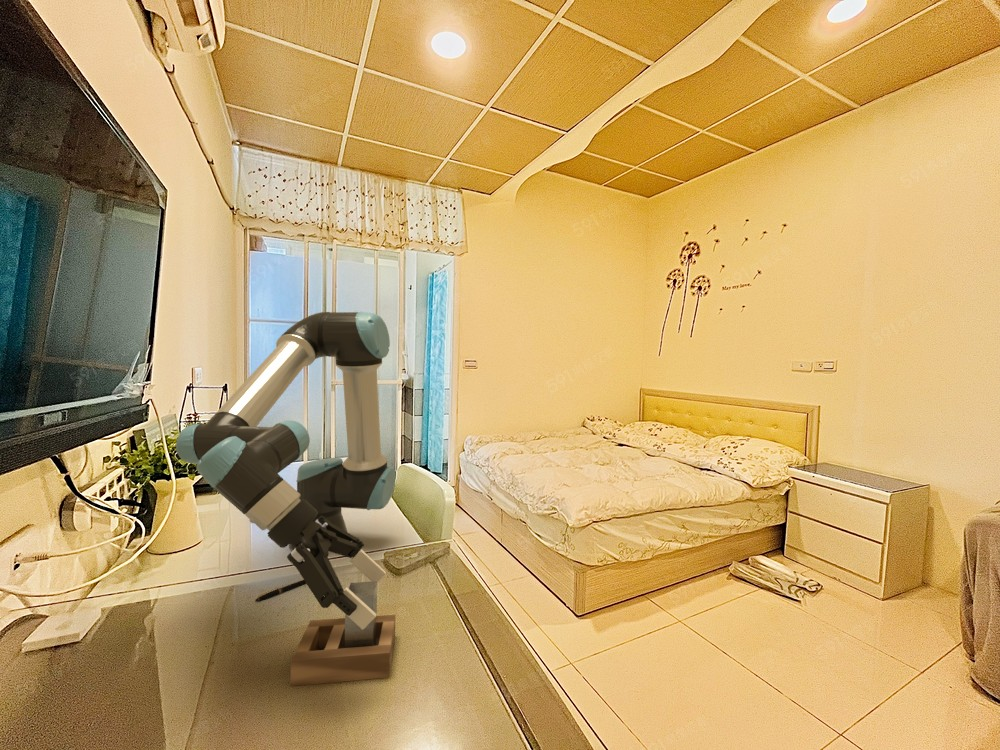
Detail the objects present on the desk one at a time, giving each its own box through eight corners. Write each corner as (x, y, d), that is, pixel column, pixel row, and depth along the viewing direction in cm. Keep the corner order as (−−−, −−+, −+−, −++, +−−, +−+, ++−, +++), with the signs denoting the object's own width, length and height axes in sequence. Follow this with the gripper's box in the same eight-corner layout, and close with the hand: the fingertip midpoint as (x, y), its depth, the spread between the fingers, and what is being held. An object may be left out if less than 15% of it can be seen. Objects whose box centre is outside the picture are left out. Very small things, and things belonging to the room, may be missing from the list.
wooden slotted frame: (310, 642, 76) (310, 620, 75) (395, 635, 78) (395, 614, 78) (290, 686, 65) (290, 660, 65) (389, 677, 68) (389, 652, 67)
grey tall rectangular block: (349, 650, 74) (350, 582, 74) (375, 647, 74) (377, 581, 74) (344, 668, 69) (345, 596, 69) (372, 665, 70) (373, 594, 70)
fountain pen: (319, 577, 99) (319, 571, 99) (321, 578, 98) (322, 572, 98) (253, 602, 88) (253, 595, 88) (255, 604, 87) (255, 597, 87)
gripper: (292, 506, 81) (370, 578, 84) (230, 566, 57) (344, 665, 59) (321, 478, 82) (397, 550, 85) (273, 526, 58) (383, 626, 60)
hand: (375, 598), depth 72 cm, fingers open, 13 cm apart
